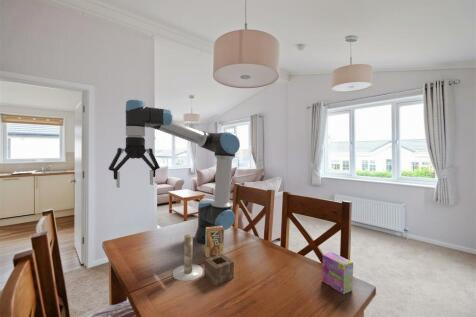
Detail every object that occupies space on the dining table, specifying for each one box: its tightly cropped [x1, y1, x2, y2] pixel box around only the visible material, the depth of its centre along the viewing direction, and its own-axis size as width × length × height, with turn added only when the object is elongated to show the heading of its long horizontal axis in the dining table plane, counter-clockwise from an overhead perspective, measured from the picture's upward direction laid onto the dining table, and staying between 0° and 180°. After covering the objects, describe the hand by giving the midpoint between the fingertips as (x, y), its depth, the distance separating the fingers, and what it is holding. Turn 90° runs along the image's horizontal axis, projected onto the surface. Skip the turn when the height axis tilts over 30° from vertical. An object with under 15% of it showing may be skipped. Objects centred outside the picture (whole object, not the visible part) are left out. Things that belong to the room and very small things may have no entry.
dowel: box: [183, 234, 193, 274], centre depth 99 cm, size 4×4×16 cm
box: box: [321, 251, 354, 295], centre depth 93 cm, size 10×6×12 cm, turn 29°
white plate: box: [172, 263, 204, 282], centre depth 99 cm, size 13×13×1 cm
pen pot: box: [203, 253, 235, 287], centre depth 96 cm, size 9×9×8 cm
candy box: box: [204, 226, 225, 258], centre depth 115 cm, size 9×4×15 cm, turn 110°
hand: (135, 185), depth 98 cm, fingers open, 13 cm apart
